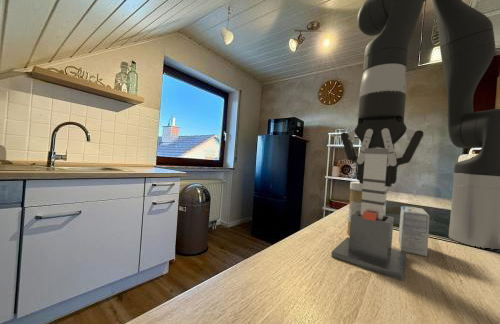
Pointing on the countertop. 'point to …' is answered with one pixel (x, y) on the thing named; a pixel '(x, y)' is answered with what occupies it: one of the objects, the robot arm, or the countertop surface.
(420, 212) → the medicine box
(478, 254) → the countertop surface
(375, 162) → the column
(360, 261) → the stand base
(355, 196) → the sprinkles bottle
